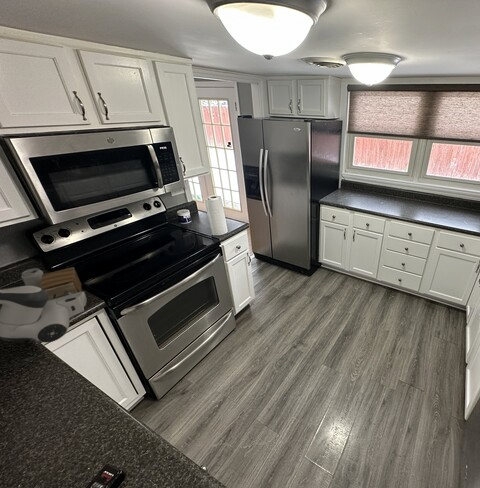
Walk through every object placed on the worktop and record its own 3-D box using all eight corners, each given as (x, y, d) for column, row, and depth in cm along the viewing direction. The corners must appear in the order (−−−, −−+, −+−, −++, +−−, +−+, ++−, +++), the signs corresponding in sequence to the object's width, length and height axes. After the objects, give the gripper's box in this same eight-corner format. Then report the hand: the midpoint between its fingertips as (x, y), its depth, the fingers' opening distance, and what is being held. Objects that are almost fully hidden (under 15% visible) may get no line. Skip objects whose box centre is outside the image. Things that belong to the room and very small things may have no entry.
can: (49, 292, 135) (38, 272, 130) (28, 296, 132) (17, 276, 126) (52, 285, 141) (42, 265, 136) (32, 289, 137) (21, 269, 132)
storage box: (81, 297, 133) (73, 279, 128) (49, 306, 126) (39, 287, 121) (81, 284, 143) (73, 267, 138) (51, 292, 136) (42, 274, 131)
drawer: (79, 304, 126) (72, 288, 123) (49, 313, 120) (40, 297, 116) (79, 285, 140) (72, 271, 136) (51, 293, 133) (44, 278, 129)
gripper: (16, 331, 96) (20, 314, 106) (89, 309, 110) (86, 295, 119) (9, 317, 94) (13, 301, 103) (84, 296, 107) (82, 283, 117)
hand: (53, 298), depth 111 cm, fingers open, 8 cm apart
